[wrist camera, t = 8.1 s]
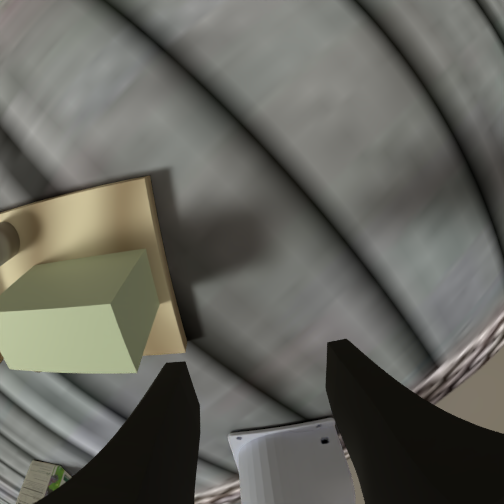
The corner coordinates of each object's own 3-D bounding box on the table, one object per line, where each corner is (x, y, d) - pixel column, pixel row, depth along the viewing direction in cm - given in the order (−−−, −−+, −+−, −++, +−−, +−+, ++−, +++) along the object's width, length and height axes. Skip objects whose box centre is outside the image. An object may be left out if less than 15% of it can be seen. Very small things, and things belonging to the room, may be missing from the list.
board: (150, 175, 16) (131, 186, 13) (187, 341, 20) (181, 377, 17) (-34, 224, 16) (-63, 240, 12) (13, 347, 20) (-6, 373, 16)
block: (145, 248, 16) (110, 303, 11) (159, 304, 18) (136, 372, 12) (34, 265, 16) (-19, 312, 11) (52, 313, 18) (9, 369, 12)
